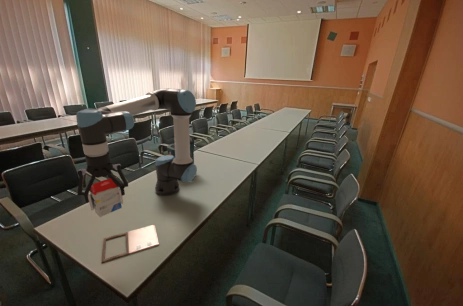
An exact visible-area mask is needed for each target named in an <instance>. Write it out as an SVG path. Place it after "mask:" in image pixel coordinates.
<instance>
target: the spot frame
mask: <svg viewBox="0 0 463 306" xmlns="http://www.w3.org/2000/svg"><path fill="white" fill-rule="evenodd" d="M128 232H129V231H126V232H122V233H118V234H115V235H114V234H113V235H111V236H107V237H103V238H102V239H103V240H102V241H103V242H102V253H101V264H103V263H106V262H109V261H113V260H115V259H119V258H122V257H126V256H129V255H130V254H129V242H128ZM121 236H125V248H126V250H125V251H126V252H123V253H120V254H115V255H114V256H110V257H108V258H107V257H106V250H107V249H106V248H107V246H106V245H107V241H108V240H112V239H115V238H119V237H121Z"/></svg>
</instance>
